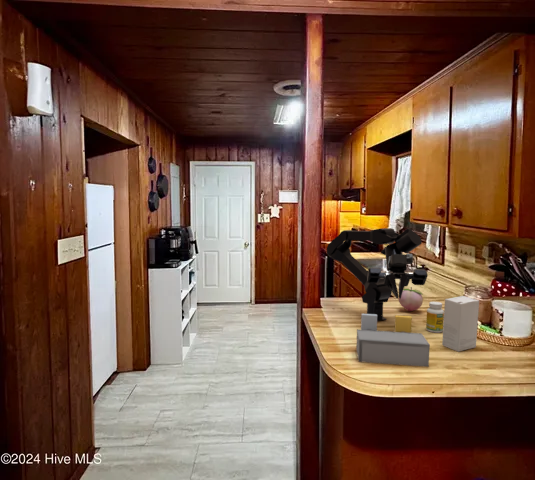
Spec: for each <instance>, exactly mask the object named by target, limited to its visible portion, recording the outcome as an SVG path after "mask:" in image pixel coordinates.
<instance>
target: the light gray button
mask: <svg viewBox="0 0 535 480" xmlns="http://www.w3.org/2000/svg"><path fill="white" fill-rule="evenodd" d="M360 321H361V323H360V330H374V331H378V321H377V314H367V313H361V320H360Z"/></svg>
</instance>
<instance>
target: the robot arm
mask: <svg viewBox="0 0 535 480" xmlns="http://www.w3.org/2000/svg"><path fill="white" fill-rule="evenodd" d="M353 241H361V242H362V241H363V242H365V241H366V242H370V243H373V244H376V245H379V246H381V245H386V246H384V248H383V249H382V250H381V251H380V254H382V255H383V256H385V264H386V270H385V271H382V268H381V267H369V268H368V270H367V269H366V268H365V267H364V266H363V265H362V264H361V263H360V262H359V261H358V260H357V259H356V257H354V256H353V255H352V254H351V249H350V248H351V246H352V242H353ZM422 243H423V242H422V238H421V236H420V235H419V234H418V233H417V232H415V231H414V230H413V229H412V228H406V229H404V231H402V232H401V233H398V232H396V231H395V229H394V228H387V227H385V228H376V229H372V230H352V229H347V230H344V229H343V230H342V231H341V232H340V233H339V234H338V235H337V236H335V238H333V239H332V240H331V241H330V243H329V244H328V245H327V247H326V254H327V255H328V256H329V258H331V259H333V260H334V261H337V262H340V263H341V264H343V266H344V267H345V268H347V270H348V271H349V272H351V274H353V276H355V278H356V279H357V280H358V281H359V282H360V283H361V284H362V286H364V291H365V293H364V294H363V295H361V300H362V303H364V304H366V314H377V322H378V321H387V318H386V317H384V315H383V314H384V303H388V301H389V299H390V297H391V296H392V294H393V296H394V297H395V299H398V300H399V299H401V296H402V292H403V291H404V290H403V289H405V287H408V286H409V283H410V280H411V284H412V285H413V286H424V285H425V284H426V282H427V280H428V276H429V275H428V271H427V270H426V269H420V268H419V269H418V268H417V269H416V268H414V269H413V271H412V272H406V271H407V270H408V269H407V266H408V265H412V264H413V262H414V256H413V253H410V252H412V251H413V250H415V249H416V248H418V247H419V246H421V245H422ZM403 253H404V254H403ZM396 280H399V283H398V287H397V282H396Z"/></svg>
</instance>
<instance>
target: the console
mask: <svg viewBox="0 0 535 480" xmlns="http://www.w3.org/2000/svg"><path fill="white" fill-rule="evenodd" d="M355 344H356V346H355V347H356V348H355V349H356V355H357V360H358V362H361V363H372V364H373V363H374V364H384V365H385V364H386V365H400V366H413V367H427V368H428V367H429V365H430V349H431V348H430V346H431V345H430V343H429V342H428V340H427V339H426V337H425V336H424V335H423V333H421V332H411V333H407V332H395V331H388V330H377V331H374V330H361V329H356V343H355Z"/></svg>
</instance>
